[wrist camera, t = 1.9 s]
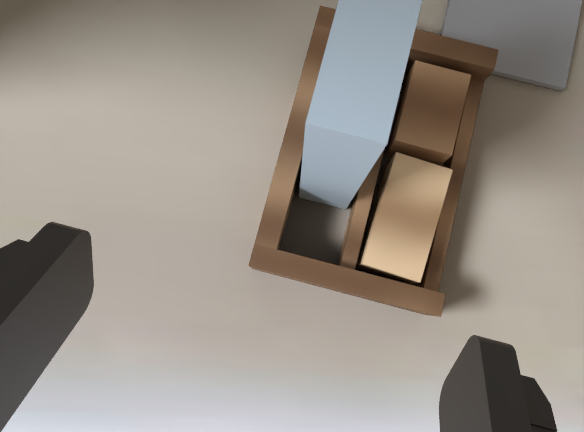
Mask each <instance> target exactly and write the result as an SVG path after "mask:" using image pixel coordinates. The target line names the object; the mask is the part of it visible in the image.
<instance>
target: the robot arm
mask: <svg viewBox="0 0 584 432" xmlns="http://www.w3.org/2000/svg"><path fill="white" fill-rule="evenodd" d="M93 287H94V279H93V263H92V246H91V236H90V234H89V232H88V231H85V230H81V229H77V228H74V227H70V226H66V225H62V224H59V223H55V222H50V223H48V224H46V225H45V226H44V227H43V228H42V229H41V230H40V231H39V232H38V233H37V234H36V235H35V236H34V237H33V238H32V239H31V240H30V242H27V241H23V240H19V239H18V240H16V241H14V242H12V243H10V244H8V245H6V246H4V247H2V248H1V249H0V432H1V431H2V429H3V428H4V426H5V425H6V424H7V422H8V421H9V419H10V418H11V416H12V415H13V414H14V412H15V411H16V409H17V408H18V406H19V405H20V404H21V402H22V401H23V399H24V398H25V397H26V395H27V394H28V392H29V391H30V389H31V388H32V387H33V385H34V384H35V382H36V381H37V379H38V378H39V377H40V375H41V374H42V372H43V371H44V369H45V368H46V367H47V365H48V364H49V362H50V361H51V359H52V358H53V357H54V355H55V354H56V352H57V351H58V349H59V348H60V347H61V345H62V344H63V342H64V341H65V339H66V338H67V337H68V335H69V334H70V332H71V331H72V329H73V328H74V327H75V325H76V324H77V322H78V321H79V319H80V318H81V317H82V315H83V314H84V312H85V311H86V309H87V307H88V305H89V302H90V300H91V297H92V293H93ZM439 419H440V432H557V428H556V424H555V420H554V416H553V412H552V408H551V404H550V403H549V401H548V399H547V398H546V396H545V395H544V393H543V392H542V390H541V388H540V387H539V385H538V384H537V382H536V381H535V379H534V378H530V377H527V376H523V375H520V370H519V365H518V360H517V355H516V351H515V349H514V347H513V346H512V345H510V344H506V343H503V342H499V341H495V340H491V339H488V338H484V337H480V336H476V335H473V336H471V337H470V338H469V340H468V341H467V343H466V345H465V346H464V348H463V350H462V352H461V353H460V355H459V357H458V359H457V360H456V362H455V364H454V365H453V367H452V369H451V371H450V372H449V374H448V376H447V378H446V379H445V382H444V384H443V387H442V391H441V395H440V402H439Z"/></svg>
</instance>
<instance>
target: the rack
mask: <svg viewBox="0 0 584 432" xmlns="http://www.w3.org/2000/svg"><path fill="white" fill-rule="evenodd" d="M335 12H336V9H332V8H328V7H324V6H320V8H319V12H318V16H317V19H316V23H315V27H314V30H313V34H312V37H311V41H310V45H309V48H308V52H307V56H306V59H305V63H304V66H303V70H302V74H301V77H300V81H299V85H298V88H297V92H296V95H295V99H294V103H293V106H292V110H291V114H290V117H289V121H288V124H287V128H286V132H285V135H284V139H283V143H282V146H281V150H280V153H279V157H278V161H277V164H276V168H275V172H274V175H273V179H272V182H271V186H270V190H269V193H268V197H267V201H266V204H265V208H264V211H263V215H262V219H261V222H260V226H259V230H258V233H257V237H256V240H255V244H254V248H253V251H252V255H251V259H250V262H249V266H250V267H251V268H252V269H255V270H259V271H263V272H266V273H270V274H274V275H278V276H282V277H285V278H289V279H293V280H297V281H300V282H304V283H308V284H312V285H315V286H319V287H323V288H327V289H330V290H334V291H338V292H342V293H345V294H349V295H353V296H357V297H361V298H364V299H368V300H372V301H376V302H379V303H383V304H387V305H391V306H394V307H398V308H402V309H406V310H409V311H413V312H417V313H421V314H425V315H432V316H439V317H441V314H442V309H443V305H444V300H445V295H446V294H444V293H440V292H438V289H439V284H440V280H441V275H442V271H443V266H444V261H445V257H446V252H447V248H448V243H449V239H450V234H451V230H452V225H453V220H454V216H455V211H456V207H457V202H458V198H459V193H460V189H461V184H462V179H463V175H464V170H465V166H466V161H467V157H468V152H469V147H470V143H471V138H472V134H473V129H474V125H475V120H476V116H477V111H478V106H479V102H480V97H481V93H482V88H483V84H484V80H485V79H486V78H487V77H488V76H489V75H490V74H491V73H492V72H493V70H494V69H495V65H496V60H497V56H498V51H499V50H498V49H494V48H490V47H486V46H482V45H478V44H474V43H470V42H466V41H462V40H458V39H454V38H450V37H446V36H442V35H437V34H433V33H429V32H425V31H421V30H417V29H415V32H414V36H413V40H412V45H411V49H410V53H409V57H408V61H407V65H406V69H405V73H404V74H407V75H408V73H409V72H410V70H411V68H412V66H413V64H414V62H415V60H417V61H420V62H424V63H428V64H432V65H436V66H439V67H443V68H447V69H451V70H455V71H459V72H462V73H466V74H470V75H471V78H470V82H469V86H468V91H467V95H466V99H465V103H464V107H463V112H462V116H461V120H460V124H459V128H458V133H457V137H456V141H455V145H454V149H453V154H452V156H451V157H450V158H448V159H447V160H446V161H445V166H444V167H445V168H448V169H452V170H453V171H452V175H451V178H450V182H449V185H448V188H447V192H446V195H445V199H444V202H443V206H442V209H441V213H440V216H439V220H438V223H437V227H436V230H435V234H434V237H433V241H432V244H431V248H430V251H429V254H428V258H427V261H426V265H425V268H424V272H423V275H422V279H421V282H420V283H418V285H417V286H414V285H410V284H406V283H402V282H398V281H395V280H391V279H387V278H383V277H379V276H376V275H372V274H368V273H364V272H361V271H357V270H355V267H356V263H357V259H358V254H359V250H360V246H361V242H362V238H363V234H364V230H365V226H366V222H367V218H368V214H369V210H370V205H371V201H372V197H373V193H374V189H375V185H376V181H377V177H378V173H379V169H380V165H381V161H382V156H383V152H384V150H383V151H382V153H381V155H380V156H379V158H378V159H377V161H376V162H375V164H374V166H373V167H372V169H371V170H370V172H369V173H368V175H367V177H366V178H365V180H364V181H363V183H362V184H361V186H360V188H359V189H358V191H357V192H356V194H355V196H354V200H353V204H352V208H351V212H350V216H349V220H348V224H347V228H346V232H345V236H344V240H343V244H342V248H341V252H340V256H339V260H338V264H337V265H334V264H330V263H326V262H323V261H319V260H315V259H311V258H307V257H304V256H300V255H296V254H292V253H289V252H285V251H281V250H279V248H280V245H281V241H282V237H283V234H284V230H285V226H286V222H287V219H288V215H289V211H290V207H291V204H292V200H293V196H294V192H295V189H296V185H297V181H298V178H299V174H300V170H301V166H302V156H303V144H304V133H305V123H306V119H307V115H308V112H309V108H310V104H311V101H312V97H313V93H314V89H315V86H316V82H317V78H318V75H319V71H320V67H321V64H322V60H323V56H324V52H325V49H326V45H327V41H328V38H329V34H330V30H331V27H332V23H333V19H334V16H335Z"/></svg>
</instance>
